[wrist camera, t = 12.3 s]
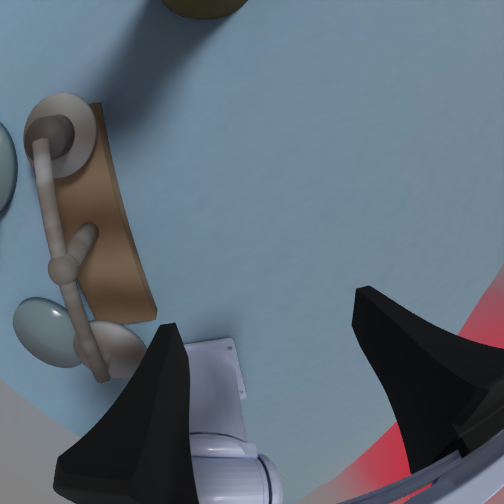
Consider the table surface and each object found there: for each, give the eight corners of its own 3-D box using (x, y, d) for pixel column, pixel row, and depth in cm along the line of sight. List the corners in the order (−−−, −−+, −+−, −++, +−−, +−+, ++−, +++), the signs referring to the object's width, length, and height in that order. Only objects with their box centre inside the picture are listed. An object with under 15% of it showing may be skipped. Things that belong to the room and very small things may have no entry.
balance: (163, 322, 24) (155, 405, 16) (108, 329, 23) (87, 407, 16) (99, 82, 15) (32, 75, 7) (34, 108, 14) (-46, 124, 7)
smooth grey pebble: (101, 358, 25) (99, 366, 24) (41, 361, 24) (39, 368, 23) (65, 292, 21) (61, 299, 20) (4, 301, 20) (-1, 308, 19)
